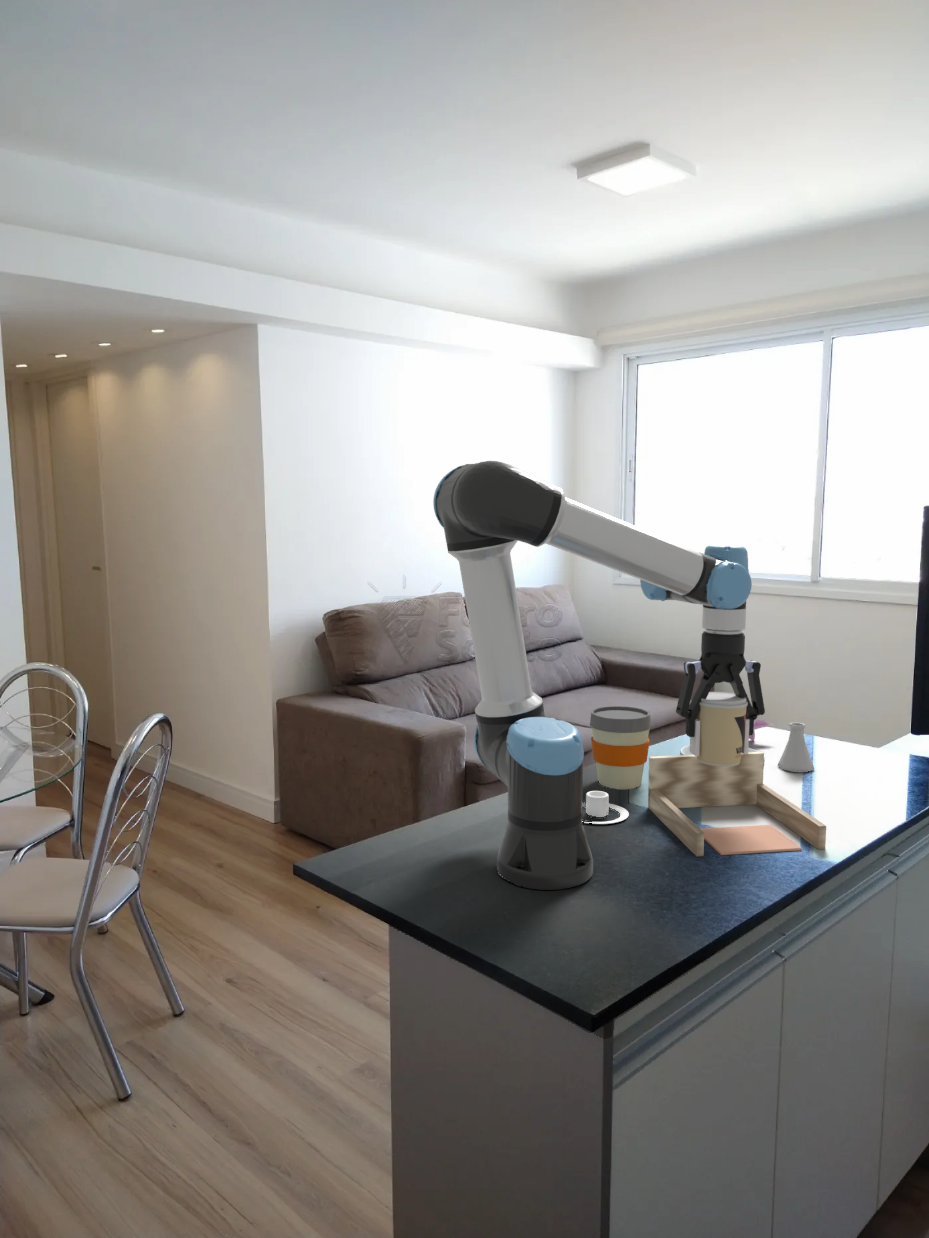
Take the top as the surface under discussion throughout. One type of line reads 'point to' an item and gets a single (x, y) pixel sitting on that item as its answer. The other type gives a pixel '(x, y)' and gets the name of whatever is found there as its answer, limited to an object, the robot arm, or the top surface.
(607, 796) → the candle holder
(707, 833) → the front mat
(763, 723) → the lily
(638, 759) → the reusable coffee cup
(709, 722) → the coffee cup
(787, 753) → the flask
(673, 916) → the top surface
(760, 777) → the bay
